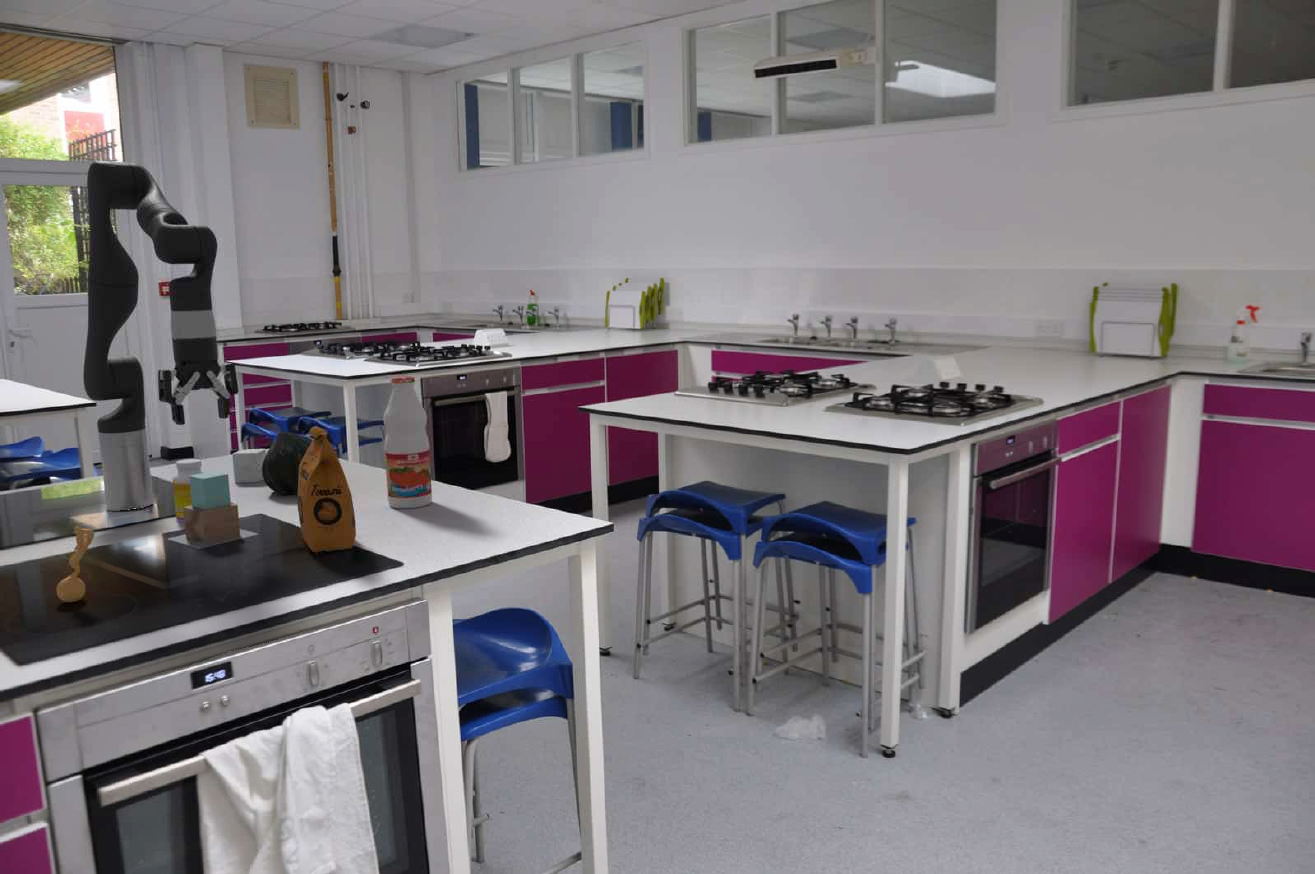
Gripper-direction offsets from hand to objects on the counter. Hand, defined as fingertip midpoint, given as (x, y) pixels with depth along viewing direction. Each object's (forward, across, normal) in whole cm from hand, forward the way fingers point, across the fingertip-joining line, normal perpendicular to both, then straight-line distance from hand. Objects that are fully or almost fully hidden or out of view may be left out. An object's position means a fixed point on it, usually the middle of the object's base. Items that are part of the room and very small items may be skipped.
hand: (202, 421), depth 190 cm
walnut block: (+22, 0, 0) cm, 22 cm away
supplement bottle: (+24, -6, -18) cm, 30 cm away
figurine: (+24, +31, +15) cm, 42 cm away
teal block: (+16, 0, 0) cm, 16 cm away
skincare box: (+24, -36, -46) cm, 63 cm away
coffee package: (+24, -11, +21) cm, 33 cm away
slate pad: (+23, 0, 0) cm, 23 cm away
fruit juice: (+24, -41, +8) cm, 48 cm away
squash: (+24, -35, -25) cm, 49 cm away
